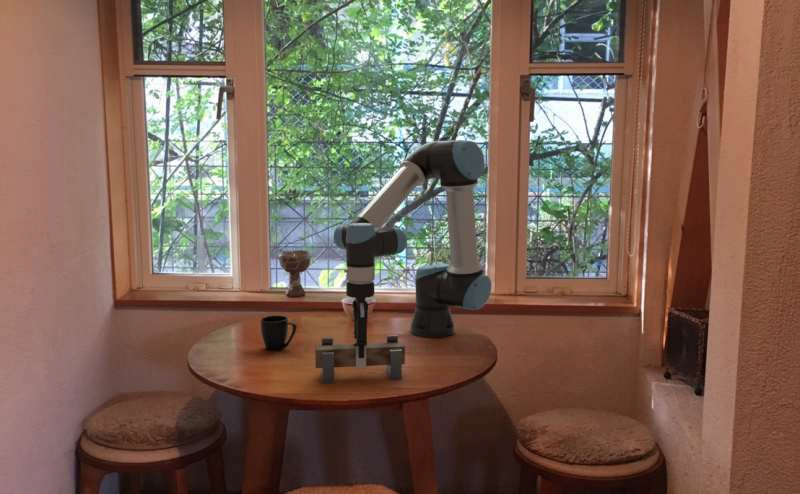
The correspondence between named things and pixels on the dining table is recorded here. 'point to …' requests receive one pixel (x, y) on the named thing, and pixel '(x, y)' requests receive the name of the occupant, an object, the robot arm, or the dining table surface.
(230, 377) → the dining table surface
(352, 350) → the rail
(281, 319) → the mug
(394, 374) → the bracket
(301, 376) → the dining table surface
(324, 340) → the bracket
